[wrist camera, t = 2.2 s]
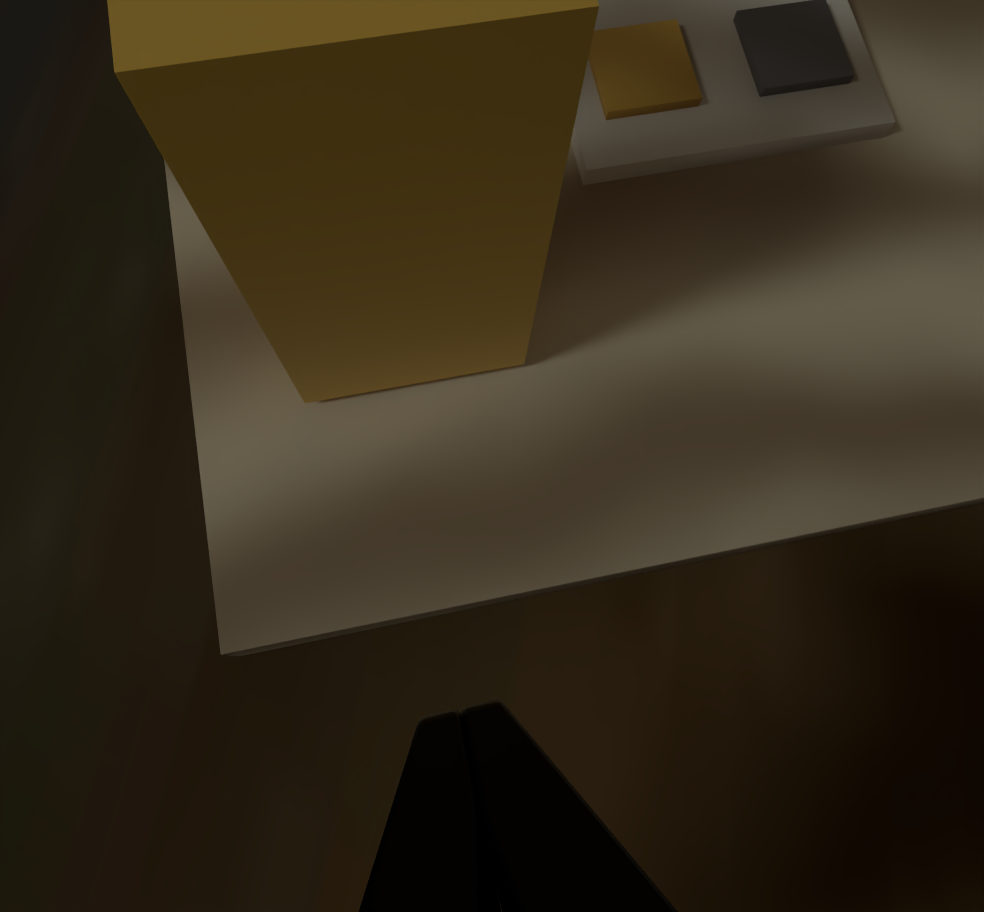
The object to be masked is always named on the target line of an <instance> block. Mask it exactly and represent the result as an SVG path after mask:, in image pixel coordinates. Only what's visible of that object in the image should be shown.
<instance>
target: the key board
mask: <svg viewBox="0 0 984 912" xmlns="http://www.w3.org/2000/svg"><path fill="white" fill-rule="evenodd" d="M597 1H598V4H599V9H598V14H597V18H596V23H595V28H594V33H593V38H592V42H591V47H590V52H589V57H588V62H587V66H586V71H585V76H584V81H583V86H582V90H581V95H580V100H579V105H578V109H577V114H576V119H575V124H574V129H573V133H572V138H571V143H570V148H569V153H568V157H567V162H566V167H565V172H564V177H563V181H562V186H561V191H560V196H559V200H558V205H557V210H556V215H555V220H554V224H553V229H552V234H551V239H550V244H549V248H548V253H547V258H546V263H545V267H544V272H543V277H542V282H541V287H540V291H539V296H538V301H537V306H536V311H535V315H534V320H533V325H532V330H531V335H530V339H529V344H528V349H527V354H526V358H525V363H524V364H522V365H517V366H511V367H505V368H500V369H494V370H489V371H483V372H477V373H472V374H466V375H461V376H455V377H449V378H444V379H438V380H433V381H427V382H421V383H416V384H410V385H405V386H399V387H393V388H388V389H382V390H377V391H371V392H365V393H360V394H354V395H349V396H343V397H337V398H332V399H326V400H321V401H315V402H309V403H304V401H303V400H302V398H301V396H300V394H299V393H298V391H297V389H296V387H295V386H294V384H293V382H292V380H291V379H290V377H289V375H288V373H287V372H286V370H285V368H284V367H283V365H282V363H281V361H280V360H279V358H278V356H277V354H276V353H275V351H274V349H273V347H272V346H271V344H270V342H269V340H268V339H267V337H266V335H265V333H264V332H263V330H262V328H261V327H260V325H259V323H258V321H257V320H256V318H255V316H254V314H253V313H252V311H251V309H250V307H249V306H248V304H247V302H246V300H245V299H244V297H243V295H242V293H241V292H240V290H239V288H238V287H237V285H236V283H235V281H234V280H233V278H232V276H231V274H230V273H229V271H228V269H227V267H226V266H225V264H224V262H223V260H222V259H221V257H220V255H219V253H218V252H217V250H216V248H215V247H214V245H213V243H212V241H211V240H210V238H209V236H208V234H207V233H206V231H205V229H204V227H203V226H202V224H201V222H200V220H199V219H198V217H197V215H196V213H195V212H194V210H193V208H192V207H191V205H190V203H189V201H188V200H187V198H186V196H185V194H184V193H183V191H182V189H181V187H180V186H179V184H178V182H177V180H176V179H175V177H174V175H173V174H172V172H171V170H170V168H169V167H168V165H167V163H166V161H165V160H164V161H165V170H166V178H167V187H168V196H169V205H170V213H171V222H172V231H173V240H174V249H175V257H176V266H177V275H178V284H179V292H180V301H181V310H182V319H183V327H184V336H185V345H186V354H187V362H188V371H189V380H190V389H191V398H192V406H193V415H194V424H195V433H196V441H197V450H198V459H199V468H200V476H201V485H202V494H203V503H204V511H205V520H206V529H207V538H208V547H209V555H210V564H211V573H212V582H213V590H214V599H215V608H216V617H217V625H218V634H219V643H220V652H221V655H233V656H243V655H248V654H253V653H258V652H263V651H267V650H272V649H277V648H282V647H287V646H292V645H296V644H301V643H306V642H311V641H316V640H321V639H326V638H330V637H335V636H340V635H345V634H350V633H355V632H360V631H364V630H369V629H374V628H379V627H384V626H389V625H393V624H398V623H403V622H408V621H413V620H418V619H423V618H427V617H432V616H437V615H442V614H447V613H452V612H457V611H461V610H466V609H471V608H476V607H481V606H486V605H490V604H495V603H500V602H505V601H510V600H515V599H520V598H524V597H529V596H534V595H539V594H544V593H549V592H554V591H558V590H563V589H568V588H573V587H578V586H583V585H587V584H592V583H597V582H602V581H607V580H612V579H617V578H621V577H626V576H631V575H636V574H641V573H646V572H650V571H655V570H660V569H665V568H670V567H675V566H680V565H684V564H689V563H694V562H699V561H704V560H709V559H714V558H718V557H723V556H728V555H733V554H738V553H743V552H747V551H752V550H757V549H762V548H767V547H772V546H777V545H781V544H786V543H791V542H796V541H801V540H806V539H811V538H815V537H820V536H825V535H830V534H835V533H840V532H844V531H849V530H854V529H859V528H864V527H869V526H874V525H878V524H883V523H888V522H893V521H898V520H903V519H907V518H912V517H917V516H922V515H927V514H932V513H937V512H941V511H946V510H951V509H956V508H961V507H966V506H971V505H975V504H980V503H984V0H597Z"/></svg>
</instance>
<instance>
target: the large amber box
mask: <svg viewBox="0 0 984 912" xmlns="http://www.w3.org/2000/svg"><path fill="white" fill-rule="evenodd" d="M107 2H108V12H109V22H110V32H111V42H112V52H113V63H114V73H115V74H116V76H117V78H118V80H119V81H120V83H121V85H122V87H123V88H124V90H125V92H126V94H127V95H128V97H129V99H130V100H131V102H132V104H133V106H134V107H135V109H136V111H137V113H138V114H139V116H140V118H141V120H142V121H143V123H144V125H145V127H146V128H147V130H148V132H149V134H150V135H151V137H152V139H153V140H154V142H155V144H156V146H157V147H158V149H159V151H160V153H161V154H162V156H163V158H164V160H165V161H166V163H167V165H168V167H169V168H170V170H171V172H172V174H173V175H174V177H175V179H176V180H177V182H178V184H179V186H180V187H181V189H182V191H183V193H184V194H185V196H186V198H187V200H188V201H189V203H190V205H191V207H192V208H193V210H194V212H195V213H196V215H197V217H198V219H199V220H200V222H201V224H202V226H203V227H204V229H205V231H206V233H207V234H208V236H209V238H210V240H211V241H212V243H213V245H214V247H215V248H216V250H217V252H218V253H219V255H220V257H221V259H222V260H223V262H224V264H225V266H226V267H227V269H228V271H229V273H230V274H231V276H232V278H233V280H234V281H235V283H236V285H237V287H238V288H239V290H240V292H241V293H242V295H243V297H244V299H245V300H246V302H247V304H248V306H249V307H250V309H251V311H252V313H253V314H254V316H255V318H256V320H257V321H258V323H259V325H260V327H261V328H262V330H263V332H264V333H265V335H266V337H267V339H268V340H269V342H270V344H271V346H272V347H273V349H274V351H275V353H276V354H277V356H278V358H279V360H280V361H281V363H282V365H283V367H284V368H285V370H286V372H287V373H288V375H289V377H290V379H291V380H292V382H293V384H294V386H295V387H296V389H297V391H298V393H299V394H300V396H301V398H302V400H303V401H304V403H309V402H315V401H321V400H326V399H332V398H337V397H343V396H349V395H354V394H360V393H365V392H371V391H377V390H382V389H388V388H393V387H399V386H405V385H410V384H416V383H421V382H427V381H433V380H438V379H444V378H449V377H455V376H461V375H466V374H472V373H477V372H483V371H489V370H494V369H500V368H505V367H511V366H517V365H522V364H524V363H525V358H526V354H527V349H528V344H529V339H530V335H531V330H532V325H533V320H534V315H535V311H536V306H537V301H538V296H539V291H540V287H541V282H542V277H543V272H544V267H545V263H546V258H547V253H548V248H549V244H550V239H551V234H552V229H553V224H554V220H555V215H556V210H557V205H558V200H559V196H560V191H561V186H562V181H563V177H564V172H565V167H566V162H567V157H568V153H569V148H570V143H571V138H572V133H573V129H574V124H575V119H576V114H577V109H578V105H579V100H580V95H581V90H582V86H583V81H584V76H585V71H586V66H587V62H588V57H589V52H590V47H591V42H592V38H593V33H594V28H595V23H596V18H597V14H598V9H599V4H598V1H597V0H107Z"/></svg>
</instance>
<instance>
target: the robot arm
mask: <svg viewBox="0 0 984 912" xmlns="http://www.w3.org/2000/svg"><path fill="white" fill-rule="evenodd" d="M462 720H463V721H462ZM496 886H497V887H496ZM497 891H498V892H497ZM498 895H499V897H498ZM499 900H500V902H499ZM500 905H501V907H500ZM501 909H502V912H677V910H676V909H675V908H674V907H673V906H672V904H671V903H670V902H669V901H668V900H667V898H666V897H665V896H664V895H663V894H662V892H661V891H660V890H659V889H658V888H657V886H656V885H655V884H654V883H653V882H652V880H651V879H650V878H649V877H648V876H647V874H646V873H645V872H644V871H643V870H642V868H641V867H640V866H639V865H638V864H637V862H636V861H635V860H634V859H633V858H632V857H631V855H630V854H629V853H628V852H627V851H626V849H625V848H624V847H623V846H622V845H621V843H620V842H619V841H618V840H617V839H616V837H615V836H614V835H613V834H612V833H611V831H610V830H609V829H608V828H607V827H606V825H605V824H604V823H603V822H602V821H601V819H600V818H599V817H598V816H597V815H596V813H595V812H594V811H593V810H592V809H591V807H590V806H589V805H588V804H587V803H586V801H585V800H584V799H583V798H582V797H581V795H580V794H579V793H578V792H577V791H576V789H575V788H574V787H573V786H572V785H571V783H570V782H569V781H568V780H567V779H566V777H565V776H564V775H563V774H562V773H561V772H560V770H559V769H558V768H557V767H556V766H555V764H554V763H553V762H552V761H551V760H550V758H549V757H548V756H547V755H546V754H545V752H544V751H543V750H542V749H541V748H540V746H539V745H538V744H537V743H536V742H535V740H534V739H533V738H532V737H531V736H530V734H529V733H528V732H527V731H526V730H525V728H524V727H523V726H522V725H521V724H520V722H519V721H518V720H517V719H516V718H515V716H514V715H513V714H512V713H511V712H510V710H509V709H508V708H507V707H506V706H505V705H504V704H503V703H502V702H501V701H499V700H490V701H486V702H482V703H478V704H474V705H469V706H466V707H465V708H464V709H463V710H462V717H461V714H460V713H459V711H457V710H448V711H444V712H440V713H436V714H431V715H427V716H424V717H423V718H421V720H420V721H419V723H418V725H417V728H416V731H415V734H414V737H413V740H412V744H411V747H410V750H409V753H408V756H407V759H406V763H405V766H404V769H403V772H402V775H401V779H400V782H399V785H398V788H397V791H396V795H395V798H394V801H393V804H392V807H391V810H390V814H389V817H388V820H387V823H386V826H385V830H384V833H383V836H382V839H381V842H380V845H379V849H378V852H377V855H376V858H375V861H374V865H373V868H372V871H371V874H370V877H369V880H368V884H367V887H366V890H365V893H364V896H363V900H362V903H361V906H360V909H359V912H501Z"/></svg>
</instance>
